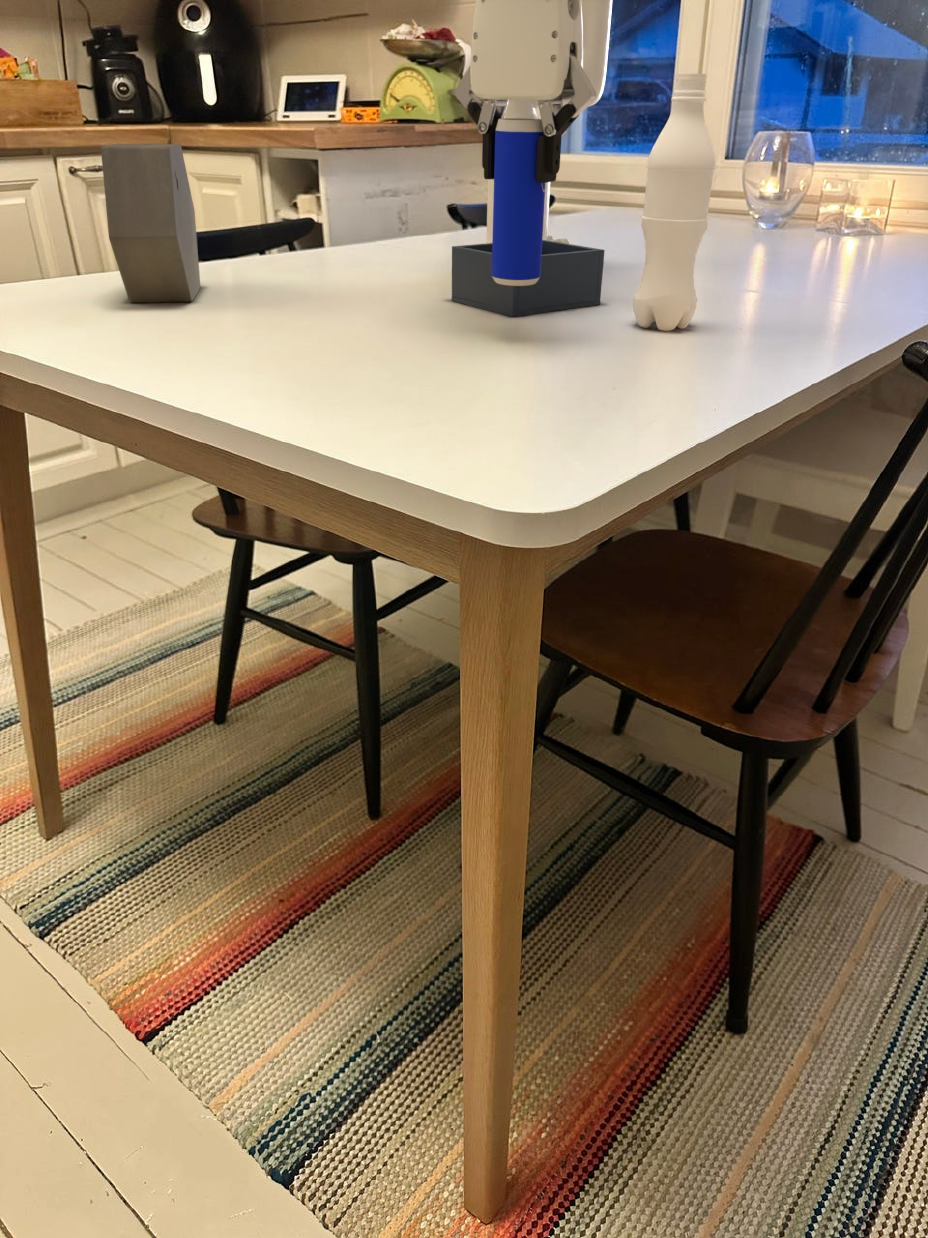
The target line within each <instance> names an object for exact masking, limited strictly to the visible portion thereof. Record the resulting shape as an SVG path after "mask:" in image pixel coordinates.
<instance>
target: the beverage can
mask: <svg viewBox="0 0 928 1238" xmlns="http://www.w3.org/2000/svg"><path fill="white" fill-rule="evenodd" d="M539 136H543V126H542V121H541V118H539V119H521V118H505V119H498V123H497V127H496V130H495V165H494V202H493V240H492V277H493V279H494V281H495V282H496V283H498V284H502V285H510V286H526V285H532V284H535V283H536V282H537V281H538V279H539V278H540V275H541V257H542V238H543V219H544V201H545V183H538V182H537V181H536V164H537V142H538V138H539Z"/></svg>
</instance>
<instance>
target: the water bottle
mask: <svg viewBox="0 0 928 1238" xmlns="http://www.w3.org/2000/svg"><path fill="white" fill-rule="evenodd" d="M706 83H707V74H706V73H677V74H676V79H675V89H674V90H673V96H672V97H671V99H670V101H671V102H672V103H673V104H672V108H671V112H670V115H669V117H668V119H667V121H666V123H665V125H664V126H663V128H662V130H661V132H660V133H659V135H658V137H657V139H656V141H655V143H654V145H653V147H652V149H651V151H650V153H649V156H648V159H647V162H646V163H647V165H646V169H647V173H646V181H645V182H646V183H645V193H644V202H643V203H644V204H643V214H642V216H641V220H640V226H641V229H642V234H643V238H644V248H645V257H644V258H645V259H644V265H643V266H644V267H643V271H642V275H641V277H640V278H641V279H640V282H639V284H638V287H637V289H636V290H635V293H634V295H633V298H632V299H633V300H632V306H633V313H634V317H635V320H636V322H637V324H638V326H639V327H641V328H644V329H647V328H649V327H650V326H652V325H653V324H654V323H655V324H656V326H657V329H658V330H660V331H667V332H668V331H672V330H675V329H676V327H677V328H679V329H685V328H687V327H688V325H689V324H690V323H691V321H692V319H693V317H694V315H695V312H696V309H697V304H698V297H697V292H696V287H695V279H694V278H695V277H694V273H695V263H696V259H697V255H698V254H697V253H698V250H699V248H700V244H701V243H702V239H703V237H704V235H705V233H706V231H707V229H708V225H709V218H708V215H709V210H710V209H709V206H710V201H711V200H710V199H711V193H712V185H713V177H714V170H716V154H715V149H714V146H713V142H712V139H711V135H710V133H709V130H708V127H707V123H706V120H705V115H704V105H705V104H704V102H707V97H706V96H705V94H706V93H707V91H705V89H706Z"/></svg>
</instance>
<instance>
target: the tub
mask: <svg viewBox="0 0 928 1238" xmlns="http://www.w3.org/2000/svg"><path fill="white" fill-rule="evenodd" d="M604 260H605V249H602V248H596V247H590V246H583V245H578V244H572V243H569V244H566V243H560V242H554V241H548V240H542V257H541V275H540V278H539V279H538V281H537V282H536V283H535V284H532V285H526V286H510V285H502V284H498V283H496V282H495V281H494V279H493V277H492V243H486V242H485V243H477V244H465V245H464V244H463V245H453V246H451V301H452V302H455V303H459V304H462V305H466V306H470V307H474V308H477V309H481V310H485V311H489V312H493V313H496V314H500V315H504V316H507V317H511V318H514V317H522V316H529V315H535V314H543V313H550V312H557V311H564V310H572V309H579V308H586V307H593V306H600V305H601V298H602V297H601V296H602V287H603V286H602V285H603V274H604V273H603V272H604V262H605V261H604Z"/></svg>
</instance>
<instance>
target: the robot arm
mask: <svg viewBox="0 0 928 1238" xmlns="http://www.w3.org/2000/svg"><path fill="white" fill-rule="evenodd" d="M612 9H613V0H475V5H474V13H473V21H472V33H471V43H470V44H471V46H470V61H469V62H470V63H469V64H470V65H469V66H468V68H467V70H466V72H465V73H464V74H463V76H462V78H461V80H460V81H459V82H458V84H457V86H456V87H455V89H454V96H455V98H456V99H457V100H458V102H459V103H460V104H461V105H462V106H463V108H464V109H466V110H467V113H468V114H469V116H470V117H471V119H472V120H473V122H474V123H475V125H476V126H477V131H478V133H479V134H481V135H482V147H481V148H482V149H481V150H482V152H481V166H482V168H483V178H484V180H487V199H486V201H487V202H486V241H485V244H486V243H492V240H493V202H494V165H495V130H496V127H497V123H498V119H505V118H521V119H541V121H542V126H543V136H539V138H538V142H537V164H536V181H537V182H538V183H545V201H544V219H543V238H542V240H548V241H554V242H560V243H566V244H570V241H569V239H568V238H557V239H554V238H553V235H548V230H549V214H550V194H551V183H553V182H555V181H556V180H557V175H558V173H559V171H560V167H561V155H562V154H561V151H562V136H564V135H566V134H567V131H568V129H569V128H570V127H571V125H572V124H573V123H574V122H575V121H576V120H577V118H579V116H580V114H581V113H582V112H584V111H585V110H586V109H587V108H589V107H592V106H594V105H595V104H597V103H598V102H599V101H600V100H601V98H602V95H603V93H604V88H605V85H606V79H607V78H606V77H607V69H608V56H609V45H610V32H611V21H612ZM479 98H480V99H479ZM481 99H483V101H481ZM537 109H538V110H539V115H540V118H539V116H538V115H537V111H536V110H537Z"/></svg>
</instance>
